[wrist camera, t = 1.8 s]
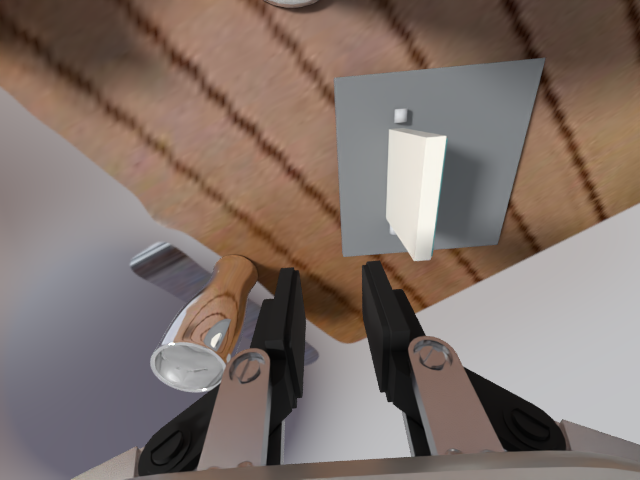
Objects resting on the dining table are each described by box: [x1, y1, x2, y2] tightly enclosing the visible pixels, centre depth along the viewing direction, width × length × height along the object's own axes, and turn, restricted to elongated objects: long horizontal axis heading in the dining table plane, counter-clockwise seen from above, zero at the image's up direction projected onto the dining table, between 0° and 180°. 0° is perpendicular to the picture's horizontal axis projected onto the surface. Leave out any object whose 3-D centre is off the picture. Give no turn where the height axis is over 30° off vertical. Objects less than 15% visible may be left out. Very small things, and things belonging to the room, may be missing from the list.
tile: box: [386, 128, 448, 261], centre depth 24 cm, size 10×2×10 cm, turn 5°
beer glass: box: [150, 255, 258, 392], centre depth 29 cm, size 7×7×15 cm
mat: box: [334, 58, 545, 257], centre depth 29 cm, size 20×20×2 cm
